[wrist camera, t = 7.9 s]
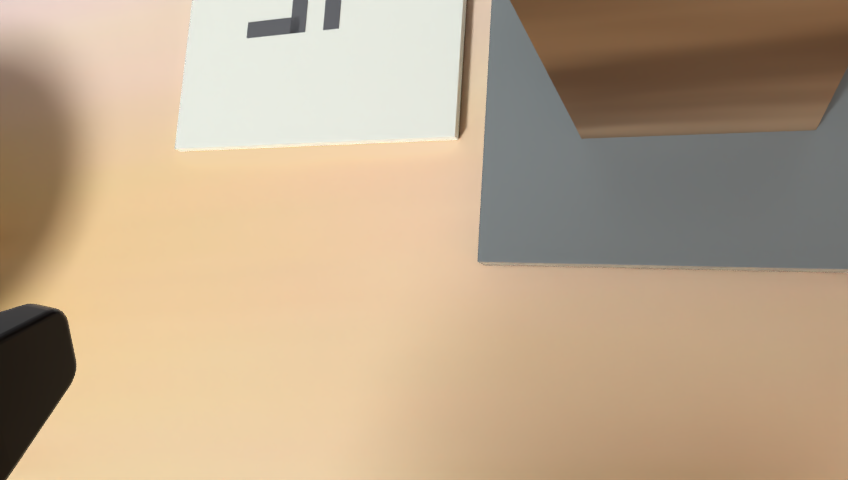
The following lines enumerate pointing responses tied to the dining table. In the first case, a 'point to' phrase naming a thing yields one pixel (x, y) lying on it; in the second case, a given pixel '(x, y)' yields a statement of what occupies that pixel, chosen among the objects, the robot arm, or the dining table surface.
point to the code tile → (321, 73)
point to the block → (690, 63)
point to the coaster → (651, 184)
